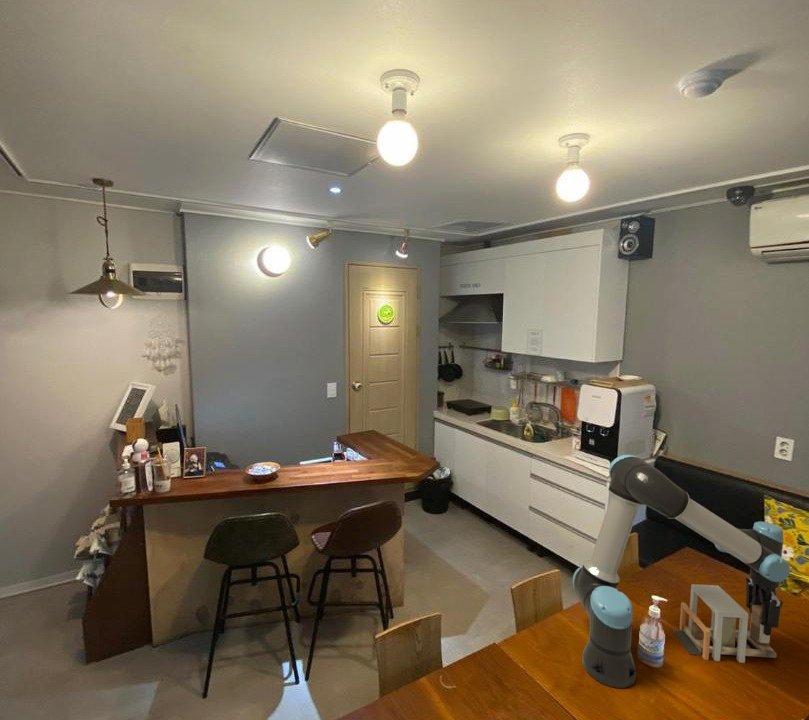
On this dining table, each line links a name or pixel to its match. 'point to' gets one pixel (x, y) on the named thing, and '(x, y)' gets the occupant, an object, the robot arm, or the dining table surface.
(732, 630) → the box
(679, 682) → the dining table surface
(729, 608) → the grey and orange stand
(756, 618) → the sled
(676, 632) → the pit mat
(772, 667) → the dining table surface
